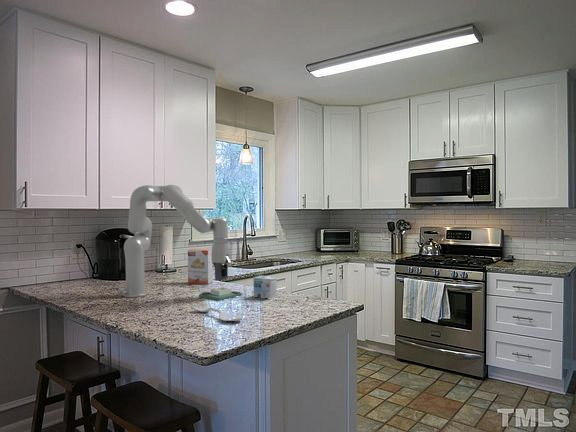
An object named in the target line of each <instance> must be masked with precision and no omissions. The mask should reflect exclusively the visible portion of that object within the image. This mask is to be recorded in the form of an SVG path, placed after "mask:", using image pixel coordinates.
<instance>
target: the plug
mask: <svg viewBox="0 0 576 432" xmlns="http://www.w3.org/2000/svg"><path fill="white" fill-rule="evenodd" d="M224 263H225V262H224ZM224 266H225V264H224ZM222 269H223V268H222V264H220V263H215V266H214V280H218V281H222V280H228V279H229V272H228V271H229V270H228V269H229V267H228V268H227V276H225V277H222Z"/></svg>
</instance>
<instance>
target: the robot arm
mask: <svg viewBox="0 0 576 432" xmlns="http://www.w3.org/2000/svg"><path fill="white" fill-rule="evenodd" d="M129 201H130V202H129V212H128V220H127V221H128V223H127V229H128V232H130V233H131V234H133V235H134V236H131V237H129V238H127V239H125V242H124V244H123V251H124V257H125V261H124V262H125V286H124V287H123V288H122V289H117V290H116V294H117V295H122V296H123V297H124V298H139V297H145V296H147V295H148V293H149V292H148V291H146V289H145V287H146V285H145V279H146V278H145V257H144V253H145V252H146V251H148V250H149V249H150V248H151V247H150V246H151V243H152V242H151V241H152V232H153V226H152V224H153V223H152V220H151V219H150V217H148V216H146V215H147V205H146V204H147V202H168V203H169V204H170V205H171V206H172V207H173V208H174V209H175V210H176V211H177V212H179V213H180V214H181V216H182V217H183V218H184V220H185V221H186V222H187V223H188V224H189V225H190V226H192V227H193V228H194V230H195V231H197V232H199V233H201V234H204V233H209V232H212V234H213V235H212V236H213V239H212V240H213V244H212V246H211V250H212V255H211V260H212V265H213V266H214V267H215V263H220V264H222V268H223V269H222V277H225V276H227V268H228V269H229V266H231V264H232V262H231V256H230V255H231V253H230V247H229V238H228V235H229V234H228V233H229V232H228V219H227V218H223V217H219V218H218V217H217V218H211V217H205V216H203V215H202V214H200V213H199V212H198V211H197V209H196V208H195V206H194V203H193V201H192V200H190V198H188V196H186V195H185V194H184V193H183V190H182V188H181V187H179V186H178V185H175V184H168V185H149V184H147V185H141V186H139V187H137V188H135V189H134V190H133V191H132V193H131V196H130V200H129ZM224 262H225V263H224ZM224 264H225V266H224Z"/></svg>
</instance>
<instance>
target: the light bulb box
mask: <svg viewBox="0 0 576 432" xmlns="http://www.w3.org/2000/svg"><path fill="white" fill-rule="evenodd" d="M277 280H278V279H277V276H268V275H257V276H254V277H253V298H255V297H260V298H259V299H262V298H273V297H276V296H277V295H278V292H277V288H278V285H277V283H278V281H277ZM276 298H277V297H276ZM273 299H274V298H273Z"/></svg>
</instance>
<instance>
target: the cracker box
mask: <svg viewBox="0 0 576 432" xmlns="http://www.w3.org/2000/svg"><path fill="white" fill-rule="evenodd" d="M211 255H212V249H201V248H200V249H199V248H198V249H197V248H190V249H188V250H187V283H188V284H195V285H210V284H213V263H212V260H211Z"/></svg>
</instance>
